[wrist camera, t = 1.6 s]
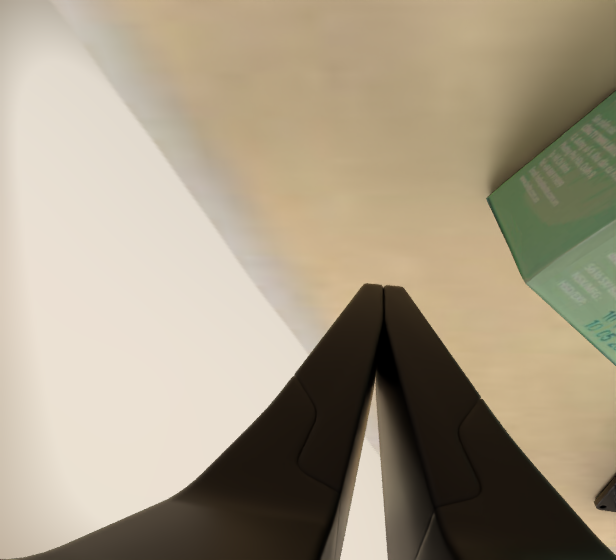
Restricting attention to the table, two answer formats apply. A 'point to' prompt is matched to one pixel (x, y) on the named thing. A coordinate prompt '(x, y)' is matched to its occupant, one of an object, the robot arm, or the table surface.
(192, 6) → the table surface
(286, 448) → the robot arm
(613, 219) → the box
